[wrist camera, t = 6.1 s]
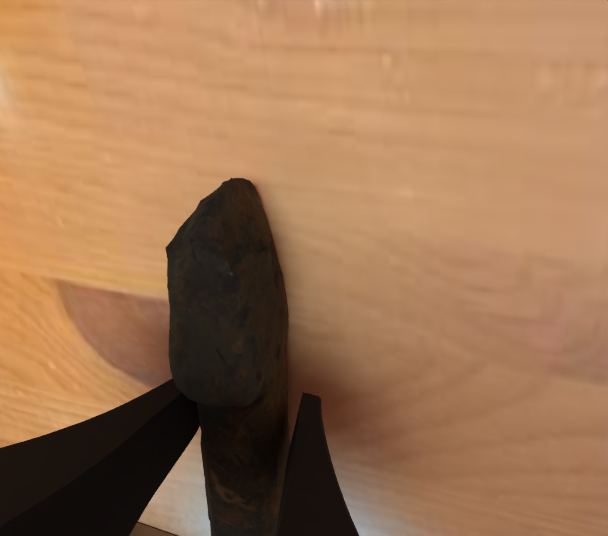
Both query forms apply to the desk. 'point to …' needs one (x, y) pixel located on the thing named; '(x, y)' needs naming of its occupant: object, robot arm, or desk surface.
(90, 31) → the desk surface
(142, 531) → the grey brown flat box
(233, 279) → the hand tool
